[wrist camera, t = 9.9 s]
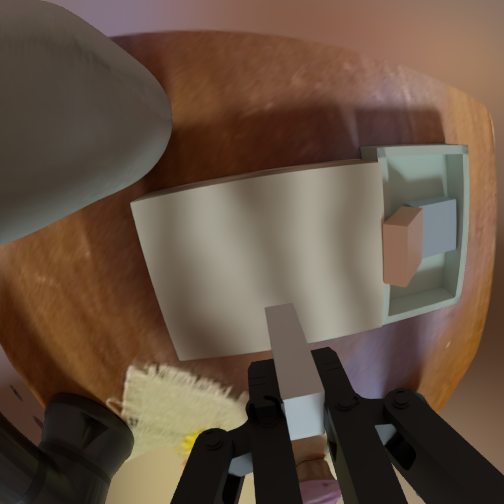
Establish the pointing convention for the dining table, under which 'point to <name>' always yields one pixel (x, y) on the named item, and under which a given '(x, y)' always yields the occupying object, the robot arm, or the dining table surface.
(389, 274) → the tile terracotta
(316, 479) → the cupcake
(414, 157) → the tray
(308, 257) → the board
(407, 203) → the tile slate
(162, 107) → the grey tall rounded cylinder
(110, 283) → the dining table surface
